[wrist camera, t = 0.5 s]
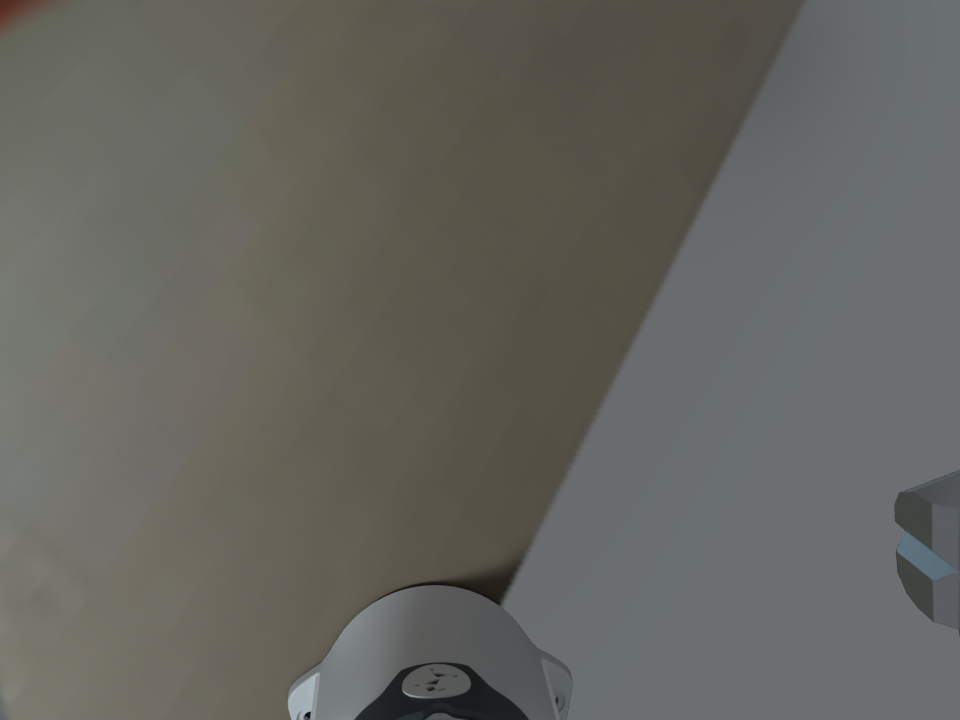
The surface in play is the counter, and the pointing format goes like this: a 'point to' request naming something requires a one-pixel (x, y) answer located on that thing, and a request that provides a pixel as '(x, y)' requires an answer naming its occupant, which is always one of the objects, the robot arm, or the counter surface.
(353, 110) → the counter surface
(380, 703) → the robot arm
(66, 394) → the counter surface
